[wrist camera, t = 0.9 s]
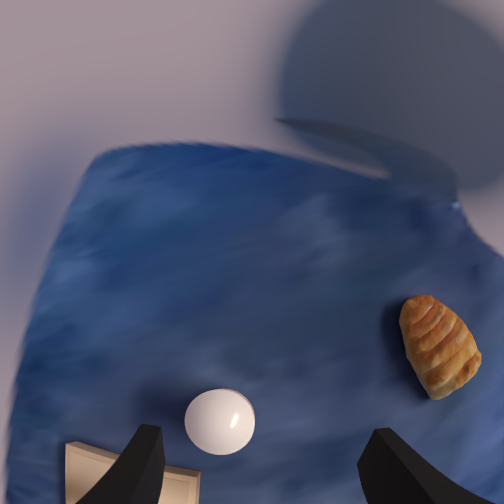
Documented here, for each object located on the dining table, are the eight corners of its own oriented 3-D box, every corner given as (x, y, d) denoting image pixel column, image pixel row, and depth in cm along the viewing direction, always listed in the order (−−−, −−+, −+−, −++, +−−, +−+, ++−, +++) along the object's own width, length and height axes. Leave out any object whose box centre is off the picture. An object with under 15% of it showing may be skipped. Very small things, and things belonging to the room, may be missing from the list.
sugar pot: (251, 445, 22) (252, 458, 17) (193, 438, 22) (181, 450, 17) (256, 391, 24) (258, 392, 19) (199, 385, 24) (187, 384, 19)
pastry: (375, 324, 26) (394, 314, 22) (425, 283, 27) (445, 268, 24) (429, 406, 23) (453, 406, 19) (473, 359, 24) (498, 352, 21)
